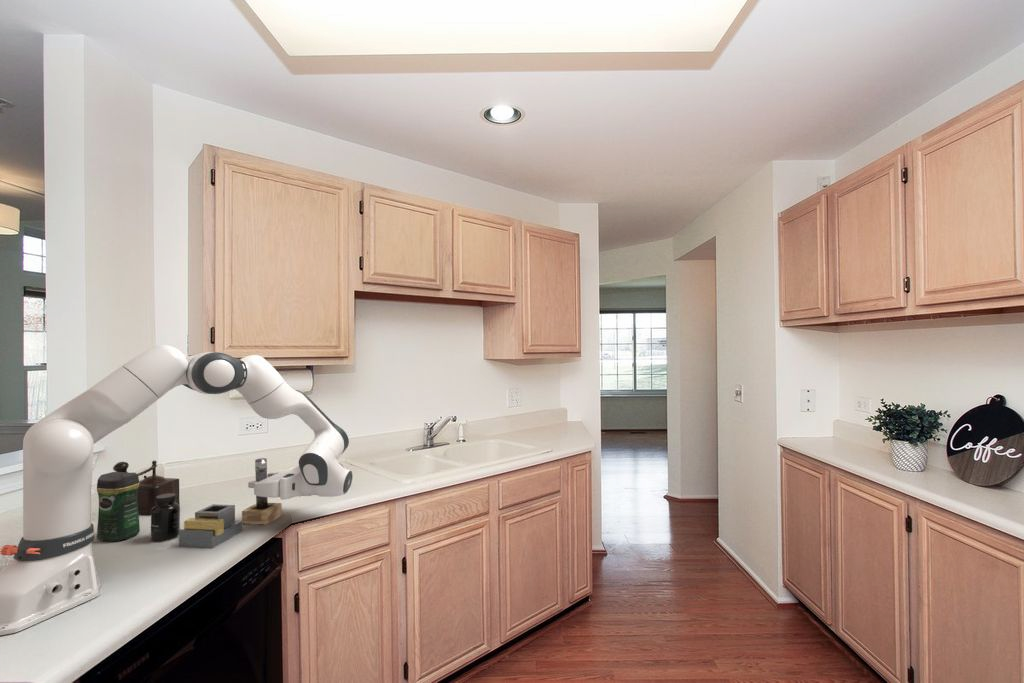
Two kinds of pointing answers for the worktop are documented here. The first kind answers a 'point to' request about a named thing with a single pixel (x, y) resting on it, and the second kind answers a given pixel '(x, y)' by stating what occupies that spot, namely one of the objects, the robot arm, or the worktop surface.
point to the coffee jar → (118, 506)
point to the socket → (206, 537)
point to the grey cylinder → (260, 475)
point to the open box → (262, 514)
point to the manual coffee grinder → (151, 487)
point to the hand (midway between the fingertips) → (259, 479)
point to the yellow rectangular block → (205, 525)
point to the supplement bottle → (165, 518)
